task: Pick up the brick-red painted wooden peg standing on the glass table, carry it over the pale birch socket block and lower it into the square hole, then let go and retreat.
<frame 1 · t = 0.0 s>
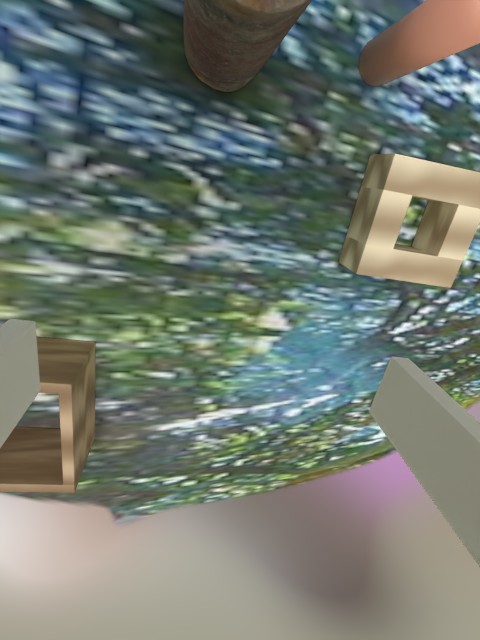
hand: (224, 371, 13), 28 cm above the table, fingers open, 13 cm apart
peg: (378, 62, 33), on the table
brown log: (225, 48, 31), on the table
socket block: (399, 220, 40), on the table
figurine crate: (15, 387, 43), on the table
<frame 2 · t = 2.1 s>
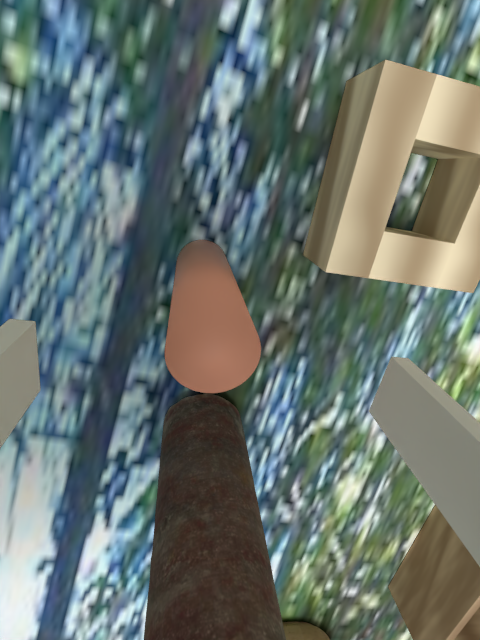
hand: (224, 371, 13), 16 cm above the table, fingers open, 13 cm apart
potted plant: (292, 634, 53), on the table
peg: (202, 265, 27), on the table
brown log: (202, 414, 33), on the table
socket block: (393, 190, 26), on the table
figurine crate: (458, 544, 49), on the table
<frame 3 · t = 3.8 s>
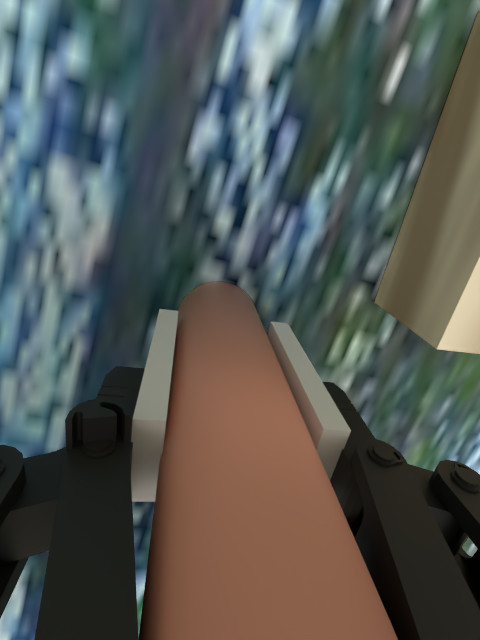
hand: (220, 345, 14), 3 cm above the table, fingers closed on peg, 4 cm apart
peg: (217, 319, 17), on the table, touching gripper
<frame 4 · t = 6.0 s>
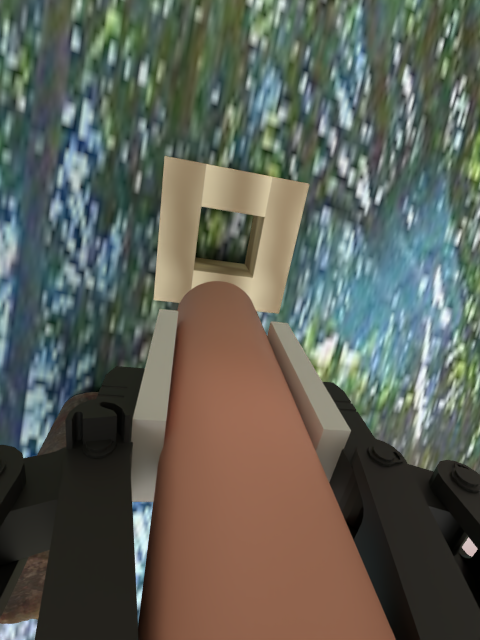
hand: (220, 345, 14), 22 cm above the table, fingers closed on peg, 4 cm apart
peg: (216, 318, 17), point 19 cm above the table, touching gripper
brown log: (97, 409, 41), on the table
socket block: (223, 234, 34), on the table
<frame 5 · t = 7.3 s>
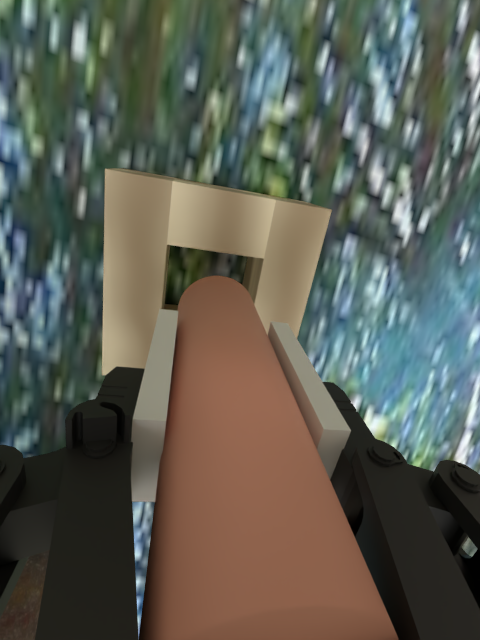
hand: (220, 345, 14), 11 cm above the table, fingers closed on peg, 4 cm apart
peg: (216, 312, 18), point 7 cm above the table, touching gripper
brown log: (45, 491, 31), on the table
socket block: (206, 273, 24), on the table
when the fingers open (6 cm above the table, at t = 8.4 s): peg drops 2 cm, resting in socket block.
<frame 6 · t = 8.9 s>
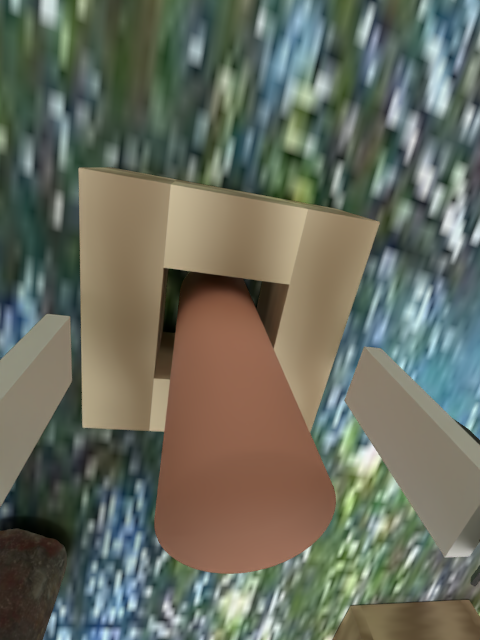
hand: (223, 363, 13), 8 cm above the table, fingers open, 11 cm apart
peg: (213, 295, 20), resting in socket block
brown log: (25, 542, 27), on the table
socket block: (213, 295, 20), on the table
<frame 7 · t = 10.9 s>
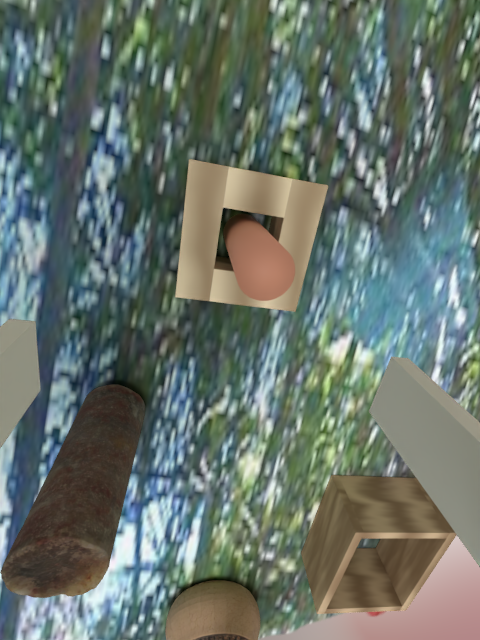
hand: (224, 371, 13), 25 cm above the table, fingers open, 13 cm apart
potted plant: (222, 592, 63), on the table
peg: (242, 233, 35), resting in socket block
brown log: (117, 401, 42), on the table
socket block: (242, 233, 35), on the table
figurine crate: (357, 517, 57), on the table
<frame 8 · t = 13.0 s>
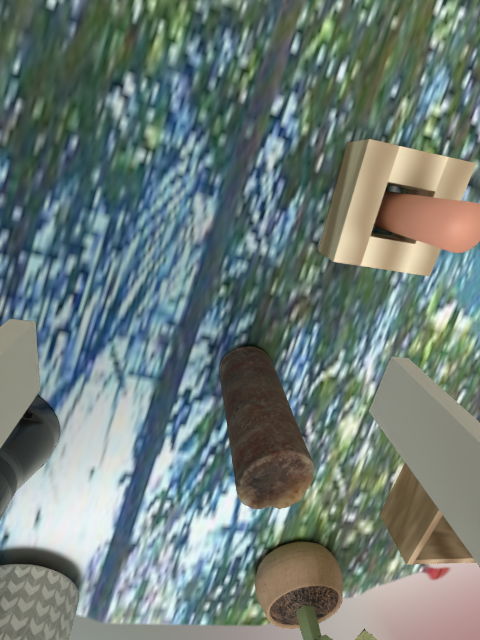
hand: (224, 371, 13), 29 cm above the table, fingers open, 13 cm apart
potted plant: (303, 554, 67), on the table
peg: (378, 208, 40), resting in socket block
planter: (28, 577, 60), on the table
brown log: (245, 364, 47), on the table
socket block: (378, 208, 40), on the table
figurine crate: (434, 479, 62), on the table
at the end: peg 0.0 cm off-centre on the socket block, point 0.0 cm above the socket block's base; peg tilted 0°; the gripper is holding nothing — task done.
